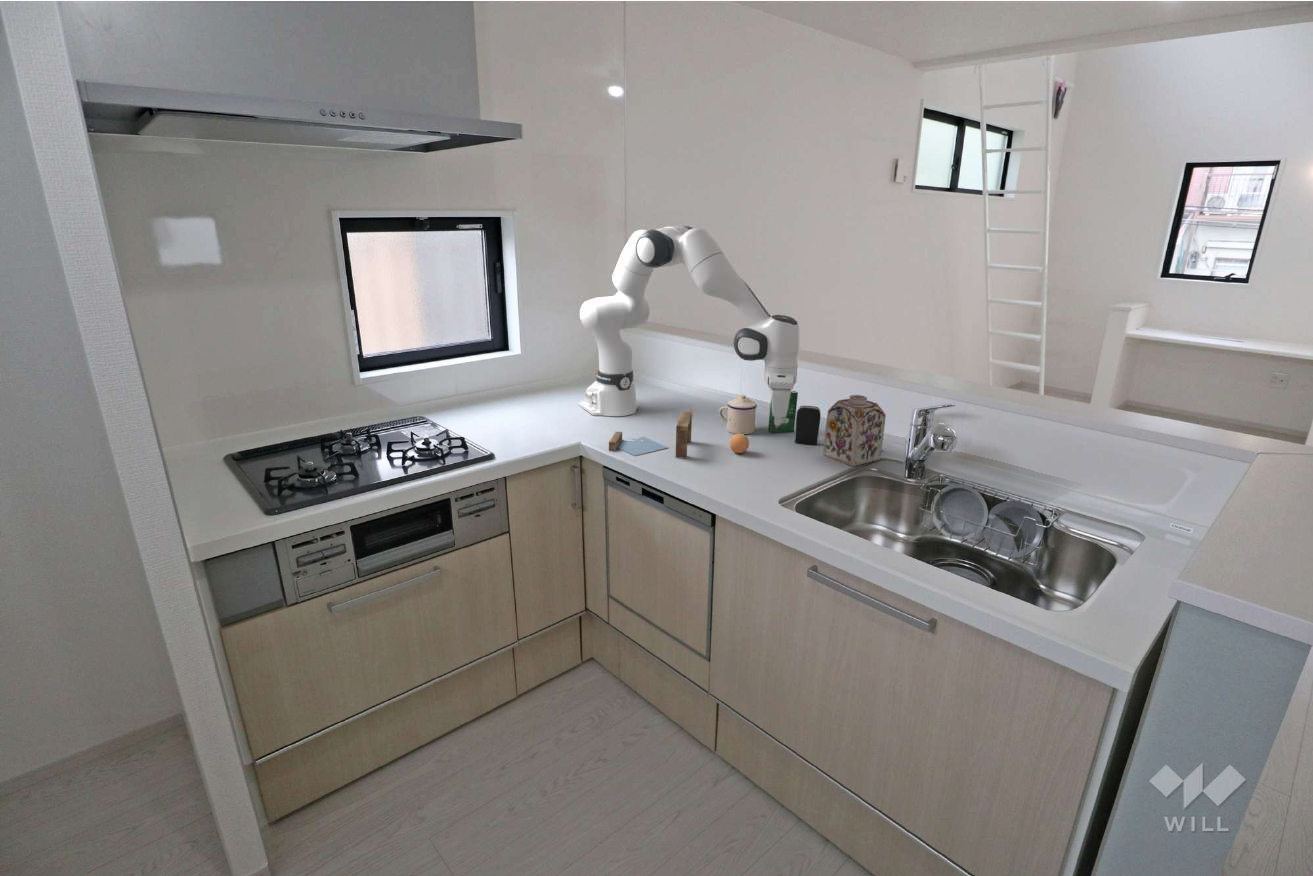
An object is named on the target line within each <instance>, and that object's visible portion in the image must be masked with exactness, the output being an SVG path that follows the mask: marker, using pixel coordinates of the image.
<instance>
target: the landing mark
mask: <svg viewBox="0 0 1313 876" xmlns="http://www.w3.org/2000/svg"><path fill="white" fill-rule="evenodd" d="M637 438H638V439H636V438H632V439H631V440H635V441H627V440H622V441H621V442H620V444H619V446H618V447H617V449H619V450H620V451H623V452H624V453H625V452H626V453H628V454H629V455H631V456H634V457H637V455H638V456H641V454H642V455H645V454H644V453H646V454H650V453H654V452H658V451H657V450H659V451H663V450H667V449H669V447H668V446H665V445H663V444H661V443H659V442H656V441H654V440H652V439H650V438H647V437H645V436H641V437H637ZM641 440H643V441H641ZM666 448H667V449H666ZM649 452H650V453H649Z"/></svg>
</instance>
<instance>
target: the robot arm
mask: <svg viewBox="0 0 1313 876" xmlns="http://www.w3.org/2000/svg"><path fill="white" fill-rule="evenodd" d="M622 249H623V250H622V252H621V254H620V256H619V258H618V260H617V263H616V266H615V268H614V270H613V273H612V274H611V275H612V279H611V281H612V283H613V285H614V288H615V289H616V290H617V292H616V293H615V294H614V295H612V296H599V297H594V298H591V299H588V300H585V301H584V302H583V303H582V305H581V307H580V309H579V319H580V323H581V325H582V326H583V328H584V329H586V330H587V331H588V332H589V333H590V334H591V335H592V337H593V338H594V340H595V342H596V345H597V351H598V370H595V375H596V378H595V381H594V382H593V383H592V384H590V385H589V386H587V388H586V390H585V398H584V400H583V399H582V400H581V401H579V402H578V406H580V407H581V408H582V409H584V410H585V411H586V412H587V413H589V414H590V415H592V416H605V417H625V416H631V415H632V414H635V413H636V412H637V409H638V408H639V406H640V405H639V403H637V394H636V386H635V383H633V382H634V370H632V369H633V350H632V348H631V345H630V344H628V343H627V342H625V341H624V340H623V339H622V337H621V333H620V331H621V330H625V329H634V328H636V327H638V326H641V325H644V324H645V323H646V322H648V320H649V317H650V305H649V303H648V301H647V300H646V298H645V291H646V289H647V285H648V283H649V280H650V279H651V276H652V275H653V272H654V270H655V268H656V269H657V268H664V267H672V266H675V265H679V264H683V265H684V267H685V268H686V270H687V272H688V274H689V275H690V277H691V279H692V281H693V282H694V283H695V285H696V287H698V289H699V290H700V291H701V292H702V293H703V294H705V295H707V296H710V297H714V298H718V299H721V300H724V301H727V302H728V303H731V304H732V305H734V306H735V308H736V309H737V310H738V311H739V312H740V314H741V315H742V317H743V318H744V319H745V321H746V323H748V326H744V327H743V328H741V329H739V330H738V331H737V332H736V333H735V336H734V338H733V348H734V349H733V350H734V352H735V353H736V355H737V356H738V357H739V358H740V359H741V360H744V361H749V362H750V361H751V362H753V361H754V362H755V361H760V360H762V361H764V374H763V375H764V378H763V381H764V382H765V383H766V384H767V387H768V388H769V391H770V401H771V400H772V414H773V416H774V424H775V425H781V418H782V417H786V415H787V411H788V406H789V400H790V394H791V391H792V390H793V389H794V387H795V384H796V383H797V380H798V366H799V364H798V354H799V351H800V327H799V323H798V321H797V320H796V319H795V318H794V317H791V316H788V315H785V314H784V315H782V314H774V315H770V314H769V312H768V310H767V309H766V308H765V306H764V305H763V304H762V303H761V301H760V300H759V298H758V297H757V296H756V294H755V293H754V292H753V290H752V289H751V288H750V286H748V284H747V282H745V280H744V279H743V278H742V277H741V276H740V275H739V274H738V272H737V271H736V270H735V269H734V267H733V265H731V263H730V261H729V259H728V258H727V257H726V255H725V254H724V253H723V250H722V249H721V247H720V246H719V245H718V243H717V242H716V241H715V239H714V238H713V237H712V236H711V234H709V232H707V231H706V230H705V229H703V228H700V227H693V226H692V227H691V226H688V225H679V226H676V225H669V226H664V227H660V228H656V229H649V230H648V229H638V230H636V231H634V232H633V233H632V234H631V236H630V237H629V238H628V241H627V242H626V244H625V246H624V247H623V248H622Z"/></svg>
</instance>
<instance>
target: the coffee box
mask: <svg viewBox="0 0 1313 876" xmlns="http://www.w3.org/2000/svg"><path fill="white" fill-rule="evenodd" d="M798 393H799V392H797V391H796V390H791V394H790V400H789V406H788V411H787V415H786V417H782V418H781V425H775V424H774V416H773V414H772V400H771V399H770V404H769V405H770V406H769V416H768V428H767V430H768V431H767V432H769V431H770V432H771V433H772V434H774V433H773V432H777V433H794V432H795V428H796V415H797V407H798V406H797V405H798V397H799V394H798ZM770 432H769V433H770Z"/></svg>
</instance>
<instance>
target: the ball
mask: <svg viewBox="0 0 1313 876" xmlns="http://www.w3.org/2000/svg"><path fill="white" fill-rule="evenodd" d="M729 448H730V449H731V451H732V452H734V453H736V454H742V453H745V452H746V451H747V450H749V448H750V440H749V438H748V437H747V436H746V435H743V434H733V435H732V437H731V438H730V440H729Z"/></svg>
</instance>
